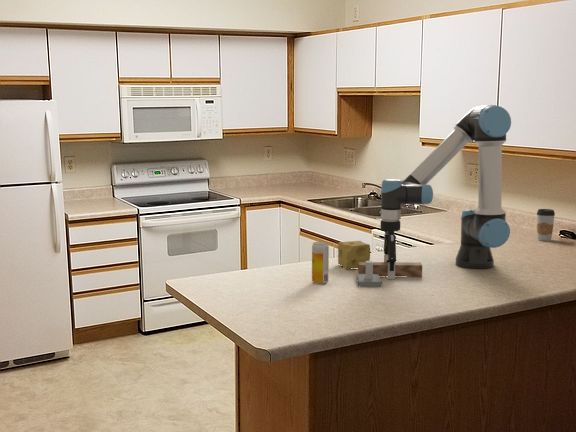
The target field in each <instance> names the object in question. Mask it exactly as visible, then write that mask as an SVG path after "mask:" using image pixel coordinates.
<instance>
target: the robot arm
mask: <svg viewBox="0 0 576 432" xmlns="http://www.w3.org/2000/svg"><path fill="white" fill-rule="evenodd" d="M511 125H512V118H511V115H510V113H509V112H508V110H507V109H505V108H504V107H502V106H499V105H495V104H494V105H493V104H489V105H483V104H482V105H478V106H475V107H472V108H471V109H470V110H468V111H467V112H466V113H465V115H463V116H462V118H461V119H459V121H458V122H457V123H455V124H454V125H453V130H452V131H451V133H449V135H448V136H446V137H445V138H444V140H442V141H441V143H439V144H438V146H436V147H435V149H434V150H433V151H432V152H431V153H430V154H429V155H428V156H427V157H426V158H425V159H424V160H423V161H422V162H421V163H419V165H418V166H417V167H416V168H415V169H414V170H413V171H412V172H411V173H410V174H409V175H408V176H407V177H406V178H405V179H403V180H401V179H397V178H387V179H383V180H382V182H381V187H380V188H381V189H380V194H381V195H380V211H378V213H379V214H380V219H381V220H380V227H379V228H380V230H381V231H382V232H383V231H384V239H383V241H384V243H383V253H384V254H383V256H384V257H383V262H388V277H387V280H396V277H395V262H397V246H396V245H397V244H396V243H397V236H396V234H395V232H399V231H401V221H400V220H401V215H402V205H429V204H431V203H432V202H433V199H434V189H433V187H432V186H431V185H430V184H428V183H429V182H431V180H432V179H434V178H435V176H437V174H438V173H439V172H441V170H443V169H444V167H446V166H447V165H448V164H449V162H451V161H452V160H453V159H454V157H455V156H457V154H458V153H460V151H462V149H463V148H465V147H466V146H467V144H472V143H473V142H474V143H475V144H476V145H477V147H478V176H477V177H478V178H477V179H478V194H477V195H478V201H477V203H478V208H476V209H464V210H462V212H461V217H460V219H461V221H460V222H461V223H460V224H461V225H460V247H459V249H458V251H457V255H456V257H455V265H456V266H459V267H462V268H468V269H481V270H483V269H490V268H493V267H494V266H495V263H494V262H495V259H494V257H493V254H492V253H493V252H492V250H491V248H492V249H495V248H499V247H501V246H503V245H504V244H506V242H508V240H509V238H510V236H511V227H510V225H509V224H508V222H507V221H506V220H507V219H506V218H507V217H506V210H505V209H503V207H502V196H503V195H502V189H503V188H502V185H503V184H502V180H503V179H502V176H503V174H502V172H503V171H502V169H503V167H502V166H503V165H502V163H503V161H502V160H503V157H502V155H503V154H502V153H503V145H504V144H505V143H506V142H507V133H508V132H509V131H510V129H511V127H512V126H511Z"/></svg>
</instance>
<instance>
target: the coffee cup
mask: <svg viewBox="0 0 576 432" xmlns="http://www.w3.org/2000/svg"><path fill="white" fill-rule="evenodd" d="M555 215H556V214H555V210H554V209H550V208H538V209H537V212H536V222H537V223H536V228H537V229H536V231H537V233H536V234H537V240H538V241H539V242H551V240H552V239H553V238H552V237H553V233H554V232H553V231H554V222H555Z"/></svg>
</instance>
